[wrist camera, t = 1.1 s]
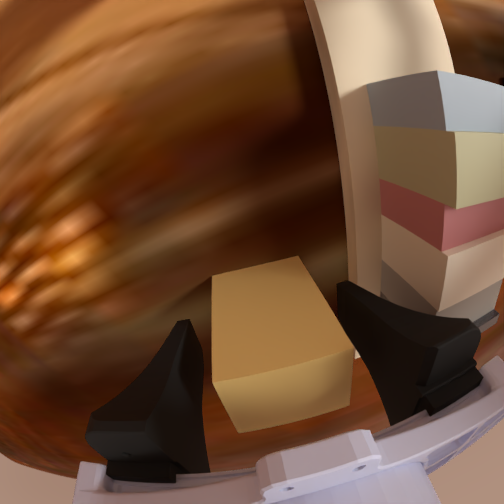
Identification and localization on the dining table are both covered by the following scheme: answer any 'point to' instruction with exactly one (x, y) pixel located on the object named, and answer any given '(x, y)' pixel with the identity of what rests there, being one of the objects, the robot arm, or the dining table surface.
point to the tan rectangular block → (277, 346)
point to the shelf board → (358, 105)
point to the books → (440, 191)
